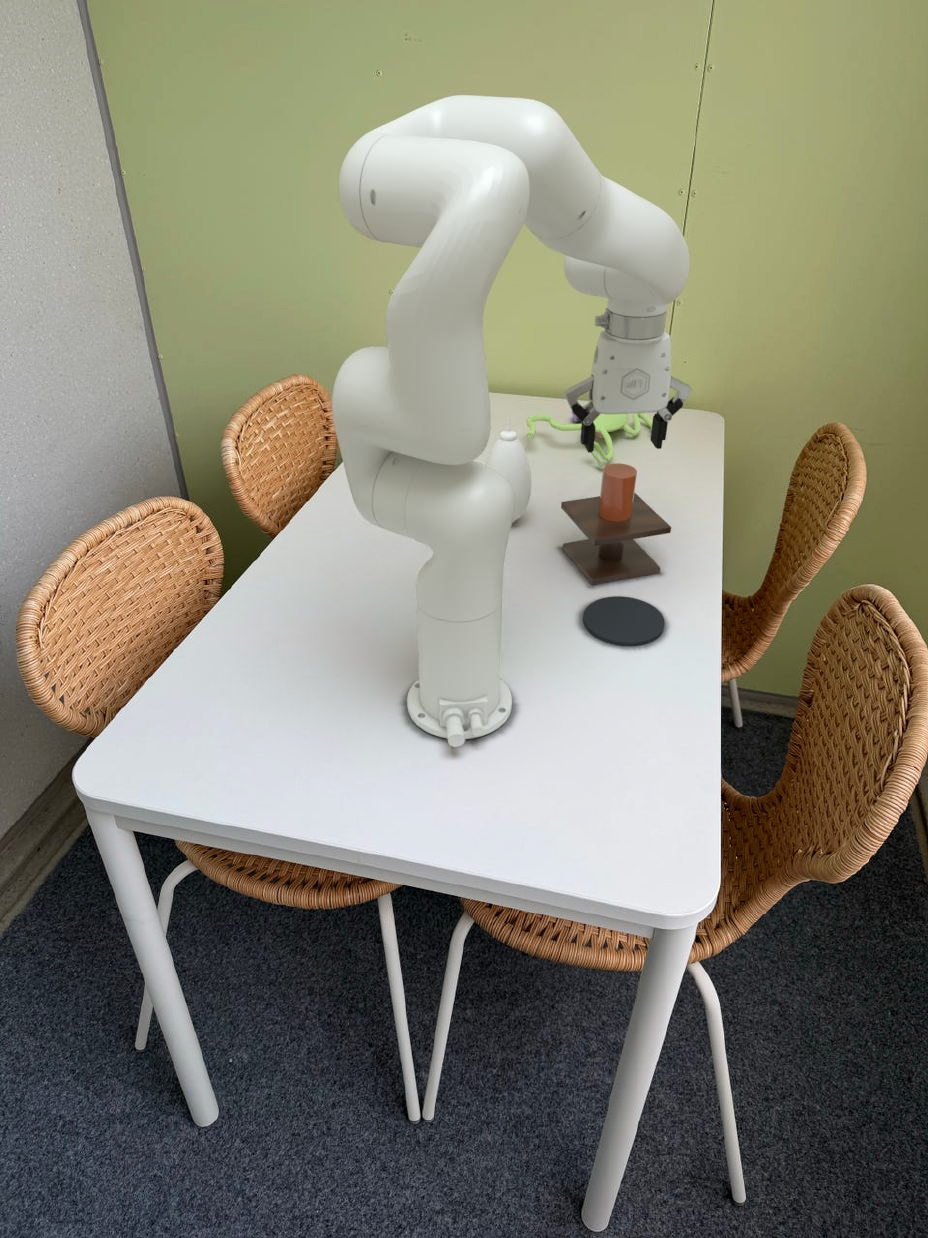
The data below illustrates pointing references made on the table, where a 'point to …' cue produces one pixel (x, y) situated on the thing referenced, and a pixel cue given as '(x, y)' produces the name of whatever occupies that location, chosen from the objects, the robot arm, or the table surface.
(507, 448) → the sauce bottle
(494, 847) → the table surface
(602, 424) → the figurine
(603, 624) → the coaster
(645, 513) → the stand
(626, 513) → the canister
